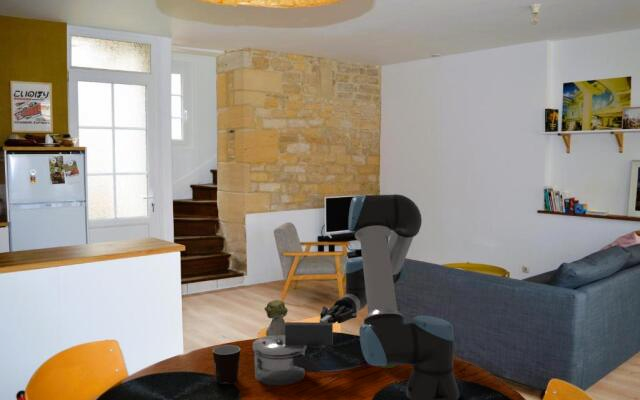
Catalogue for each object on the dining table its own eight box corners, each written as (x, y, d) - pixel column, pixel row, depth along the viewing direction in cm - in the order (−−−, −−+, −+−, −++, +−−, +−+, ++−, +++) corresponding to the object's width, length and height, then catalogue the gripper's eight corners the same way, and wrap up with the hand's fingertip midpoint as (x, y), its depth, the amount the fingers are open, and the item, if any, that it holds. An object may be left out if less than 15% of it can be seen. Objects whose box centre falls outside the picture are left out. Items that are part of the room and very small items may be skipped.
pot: (238, 374, 190) (237, 346, 189) (275, 360, 202) (275, 335, 202) (299, 397, 171) (299, 367, 171) (336, 381, 184) (336, 353, 183)
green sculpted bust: (313, 312, 217) (293, 306, 204) (294, 364, 214) (272, 361, 201) (284, 300, 224) (262, 293, 211) (265, 350, 221) (241, 346, 208)
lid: (248, 356, 180) (248, 331, 179) (256, 338, 197) (256, 315, 197) (331, 356, 179) (331, 332, 178) (333, 339, 196) (333, 316, 196)
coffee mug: (235, 387, 180) (234, 355, 179) (208, 384, 181) (208, 353, 181) (247, 373, 191) (247, 343, 190) (222, 371, 193) (222, 341, 192)
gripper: (363, 319, 209) (340, 338, 188) (329, 315, 214) (303, 333, 193) (363, 298, 209) (340, 315, 187) (329, 295, 214) (303, 311, 192)
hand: (321, 324), depth 190 cm, fingers closed
